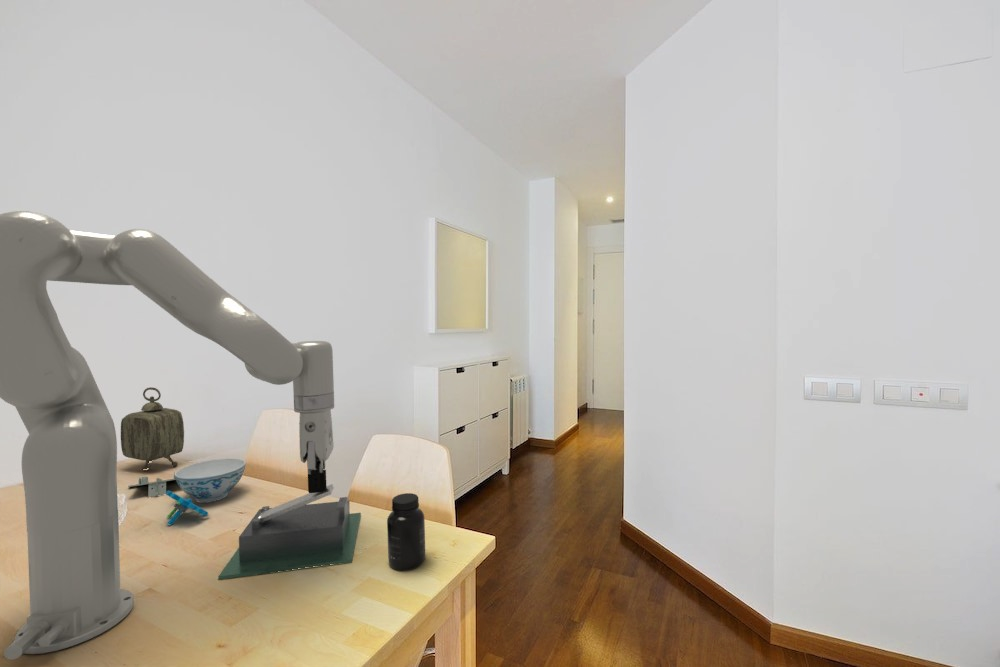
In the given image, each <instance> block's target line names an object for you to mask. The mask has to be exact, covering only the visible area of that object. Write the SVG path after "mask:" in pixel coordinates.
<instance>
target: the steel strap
mask: <svg viewBox="0 0 1000 667" xmlns="http://www.w3.org/2000/svg"><path fill="white" fill-rule="evenodd" d="M334 488H335V487H334V485H333V484H329V485H326V489H325V491H323V492H317V493H309V492H308V493H307V494H305V495H302V496H300V497H297V498H294V499H292V500H289V501H287V502H284V503H282V504H279V505H277V506H274V507H270V508H271V509H269V510H266V511H263V512H262V513H261V514H260V515H259V517H258V518H261V522H264V521H266V520H269V519H271V518H274V517H276V516H279V515H281V514H284V513H286V512H289V511H291V510H294V509H296V508H299V507H301V506H303V505H308V504H312V503H314V502H315V501H317V500H321V499H323V498H325V497H328V496H330V495H332V493H333V490H334ZM258 518H257V519H258Z"/></svg>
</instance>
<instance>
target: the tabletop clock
mask: <svg viewBox="0 0 1000 667" xmlns="http://www.w3.org/2000/svg"><path fill="white" fill-rule="evenodd" d="M149 390H151V391H155V392H156V393H157V394H158V397H157V398H155V397H154V396H152V395H151V396H150V397H149V398H148V397H147V396H146V392H147V391H149ZM142 395H143V398H144V400H146V401H148V402H146V403H145V404H143V405H142V407H141V409H140V411H136V412H131V413H128V414H127V415H125V416H124V417H123V418H121V421H120V446H121V453H122V455H123V456H124V457H125V458H130V459H132V460H133V459H135V460H139V461H145V465H144V466H142V468H143V469H147V468H149V469H150V466H149V464H148V463H149V461H152V460H153V461H156V460H160V459H167V461H169V462H171V467H172V466H173V468H176V467H178V463H179V462H178V461H174V460H173V459H172V458H171V456H173V455H176V454H179V453H182V452H183V449H184V444H185V427H184V419H183V415H182V412H181V411H179V410H178V409H175V408H168V407H164V406H163V405H162V404H161V403H160V402H157V401H159V400H160V399H161V395H162V394H161V391H160V390H159V389H157V387H146V388H145V389H144V390H143V393H142ZM153 461H152V462H153ZM175 466H176V467H175ZM143 469H142V470H143Z"/></svg>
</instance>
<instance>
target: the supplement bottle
mask: <svg viewBox="0 0 1000 667" xmlns="http://www.w3.org/2000/svg"><path fill="white" fill-rule="evenodd" d="M419 507H420V503H419V495H417V494H415V493H401V494H397V495H396V496H394V497H393V498H392V500H391V512H390V513H389V515H388V516H387V518H386V519H387V520H386V521H387V522H386V530H387V532H386V533H387V534H386V535H387V559H388V564H389V566H390V567H391V568H392V569H393V570H395V571H400V572H401V571H410V570H414V569H416V568H418V567H419V566H421V565H422V564H423V563H424V562H425V559H426V532H425V531H426V529H425V528H426V527H425V526H426V524H425V513H424V511H423V510H422V509H421V508H419Z"/></svg>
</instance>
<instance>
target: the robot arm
mask: <svg viewBox="0 0 1000 667" xmlns="http://www.w3.org/2000/svg"><path fill="white" fill-rule="evenodd" d="M48 281H51V282H65V283H66V282H67V283H79V284H81V283H82V284H95V285H97V284H98V285H109V286H110V285H112V286H133V287H134V288H135V289H137V290H138V292H141V293H142V294H143V295H144V296H146V297H147V298H148V299H150V300H151V301H152V302H154V303H155V304H156V305H158V306H159V307H160V308H161V309H163V310H164V311H165V312H167V313H168V314H169V315H170V316H172V317H173V318H174V319H176V321H178V322H179V323H181V324H182V325H183V326H185V328H188V329H189V330H190V331H193V332H194V333H195V334H197V335H200V336H202V337H204V338H206V339H208V340H210V341H212V342H214V343H216V344H218V345H219V346H220V347H222V348H224V349H225V350H226V351H228V352H229V353H231V354H232V355H233V356H235V357H236V358H237V359H239V360H240V361H242V362H243V363H244V367H245V369H246V371H247V373H249V375H251V376H252V377H254V378H255V379H257V380H260V381H262V382H266V383H269V384H270V385H271V384H272V385H275V386H277V385H278V386H281V385H287V384H289V383H292V388H293V389H292V391H293V392H292V393H293V411H294V412H295V413H299V423H298V424H299V426H298V427H299V428H298V430H299V431H298V432H299V455H300V456H299V457H300V462H302V463H304V464H305V463H306V466H307V492H308V494H309V493H317V492H323V491H325V489H326V486H327V469H326V461H327V460H328V459H329V458H330V456H331V455H332V453H333V450H334V448H335V447H334V436H333V435H334V432H333V420H332V419H333V418H332V412H331V410H333V409H335V386H334V381H335V380H334V357H333V347H332V344H331V343H330V342H329V341H325V340H309V341H308V340H306V341H300V342H293V343H292V342H291V341H289V340H288V339H287V337H285V336H284V335H283V334H282V333H281V332H279V331H278V330H277V329H276V328H274V326H272V325H271V324H270V323H268V322H267V321H266V320H265V319H264V318H262V317H261V316H260V315H259V314H257V313H255V312H254V311H253V310H251V309H250V308H249V307H247V306H246V305H245V304H243V303H242V302H241V301H240V300H239V299H237V298H236V297H235V296H234V295H231V294H230V293H229V292H227V290H225V289H224V288H223V287H221V285H219V284H218V283H217V282H216V281H215V280H214V279H212V278H211V277H210V276H209V275H207V274H206V273H205V272H204V271H203V270H202V269H201V268H199V267H198V266H197V265H195V263H193V262H192V261H191V260H190V258H188V257H187V256H185V254H183V253H182V252H181V251H180V250H178V249H177V248H176V247H175V246H174V245H173V244H171V243H170V241H168V240H167V239H166V238H164V237H163V236H161V235H159V234H158V233H156V232H154V231H151V230H149V229H143V228H133V229H128V230H125V231H123V232H120V233H118V234H115V235H114V234H103V233H97V232H88V231H80V230H76V229H75V230H74V229H69V228H67V226H66V225H64V224H63V223H62V222H59V221H58V220H57V219H54V218H53V217H51V216H48V215H45V214H42V213H39V212H34V211H29V210H26V211H25V210H24V211H23V210H20V211H15V210H14V211H10V212H4V213H0V399H1V400H3V402H5V403H7V404H10V405H11V406H13V407H15V410H16V411H17V413H18V414H19V417H20V419H21V421H22V423H23V424H24V426H25V429H26V431H27V433H28V435H27V438H26V440H25V442H24V445H23V447H22V451H21V453H22V454H21V475H22V482H23V483H22V484H23V490H24V498H25V499H24V501H25V502H24V503H25V516H26V517H25V519H26V521H25V522H26V533H27V554H28V557H27V558H28V559H27V560H28V562H27V563H28V581H29V582H28V583H29V584H28V587H29V614H30V615H29V616H28V617H26V623H24V624H23V625H22V626H20V627H21V628H19V630H17V632H16V634H15V636H14V641H13V642H12V643H10V644H9V645H8V646H7V647H6V648H5V649H4V650H3V655H4V657H5V658H6V659H8V660H15V659H18V658H20V657H21V656H22V655H23V654H27V655H37V654H47V653H52V652H53V653H54V652H57V651H60V650H64V649H67V648H71V647H73V646H74V647H75V646H76V645H79V644H81V643H83V642H86V641H89V640H91V639H93V638H95V637H97V636H99V635H101V634H103V633H105V632H106V631H108V630H110V629H111V628H113V627H114V626H116V625H117V624H118V623H120V622H121V621H122V620H123V619H125V618H126V616H128V614H129V613H131V610H132V609H133V607H134V604H135V596H134V594H133V593H132V592H131V591H129V590H125V589H121V568H120V567H121V566H120V565H121V564H120V563H121V562H120V561H121V560H120V535H119V534H120V532H119V531H120V529H119V509H118V508H119V507H118V477H117V476H118V475H117V474H118V473H117V471H118V466H117V464H118V443H117V442H118V440H117V433H116V427H115V422H114V420H113V418H112V415H111V412H110V410H109V409H108V405H107V403H106V401H105V399H104V398H103V395H102V393H101V391H100V388H99V386H98V384H97V381H96V379H95V377H94V374H93V373H92V371H91V369H90V366H89V364H88V362H87V361H86V360H87V359H85V357H84V356H83V354H81V352H80V351H79V350H77V349H76V348H74V347H72V344H71V343H70V340H69V339H68V337H67V335H66V333H65V330H64V328H63V327H62V325H61V321H60V320H59V317H58V314H57V312H56V310H55V307H54V305H53V303H52V300H51V299H50V296H49V294H48V290H47V282H48Z"/></svg>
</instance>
